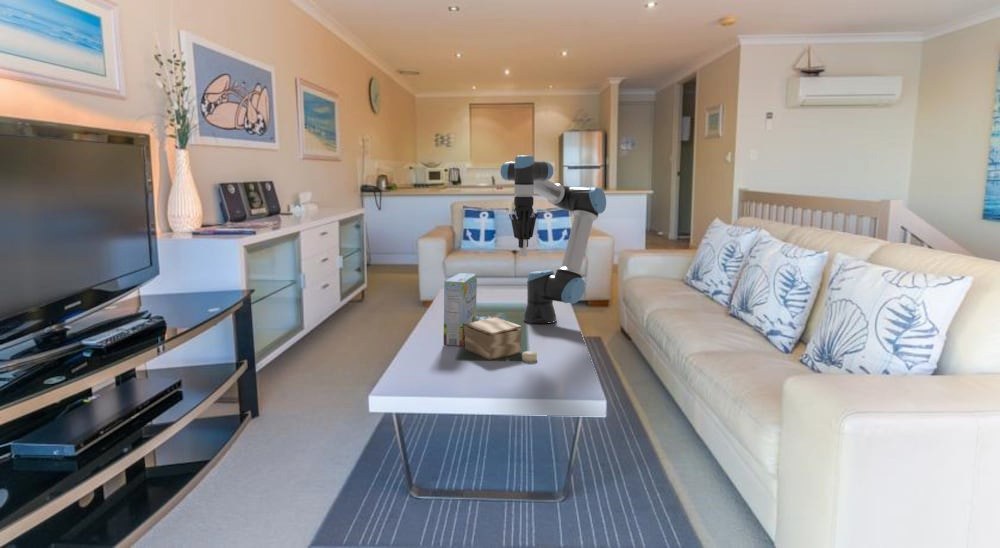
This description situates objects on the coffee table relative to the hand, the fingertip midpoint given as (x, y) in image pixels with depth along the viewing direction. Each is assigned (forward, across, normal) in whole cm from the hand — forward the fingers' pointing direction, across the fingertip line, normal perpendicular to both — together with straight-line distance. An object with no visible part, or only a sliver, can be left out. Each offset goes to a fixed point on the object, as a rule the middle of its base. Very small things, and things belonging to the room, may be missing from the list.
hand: (523, 255), depth 226 cm
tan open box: (+34, +19, +6) cm, 40 cm away
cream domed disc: (+35, +14, +22) cm, 43 cm away
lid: (+25, +19, +6) cm, 32 cm away
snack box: (+35, +20, -15) cm, 43 cm away
